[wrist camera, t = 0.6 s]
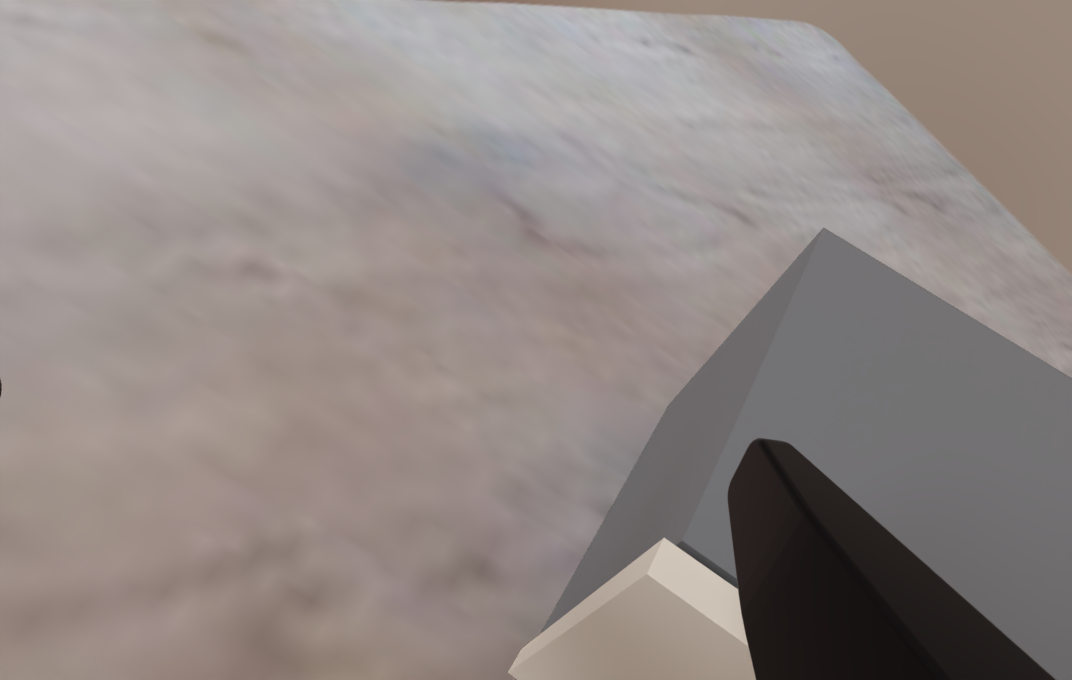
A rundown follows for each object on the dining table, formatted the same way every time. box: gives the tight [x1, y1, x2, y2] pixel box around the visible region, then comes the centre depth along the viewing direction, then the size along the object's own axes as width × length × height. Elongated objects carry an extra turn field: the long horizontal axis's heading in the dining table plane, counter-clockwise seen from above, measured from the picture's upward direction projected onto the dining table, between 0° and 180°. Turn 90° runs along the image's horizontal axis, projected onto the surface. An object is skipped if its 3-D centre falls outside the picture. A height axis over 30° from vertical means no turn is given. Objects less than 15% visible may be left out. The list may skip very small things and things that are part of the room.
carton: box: [541, 228, 1072, 680], centre depth 19 cm, size 12×12×11 cm
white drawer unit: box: [508, 538, 756, 680], centre depth 16 cm, size 16×13×10 cm
